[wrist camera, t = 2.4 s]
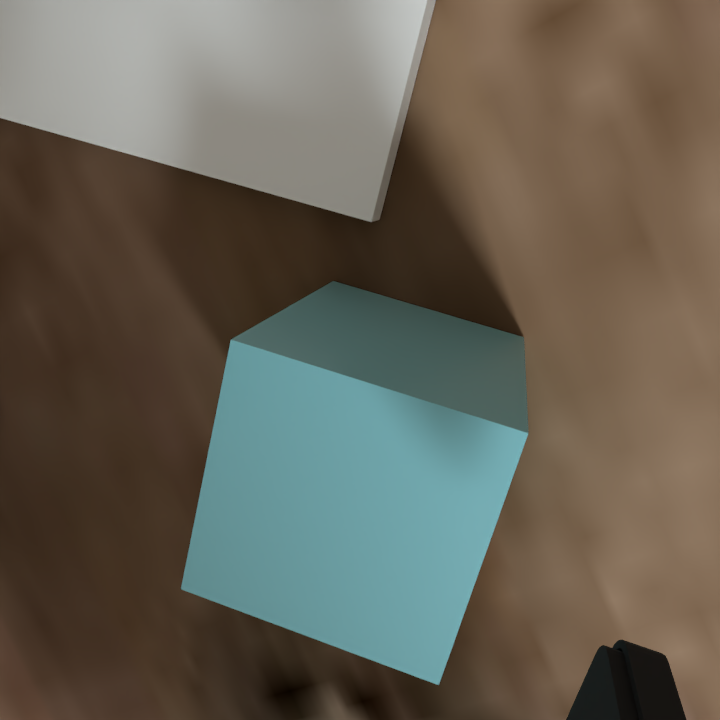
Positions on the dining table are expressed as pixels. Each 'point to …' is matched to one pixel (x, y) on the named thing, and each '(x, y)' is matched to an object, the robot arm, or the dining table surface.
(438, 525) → the teal rectangular block
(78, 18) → the board
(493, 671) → the dining table surface
